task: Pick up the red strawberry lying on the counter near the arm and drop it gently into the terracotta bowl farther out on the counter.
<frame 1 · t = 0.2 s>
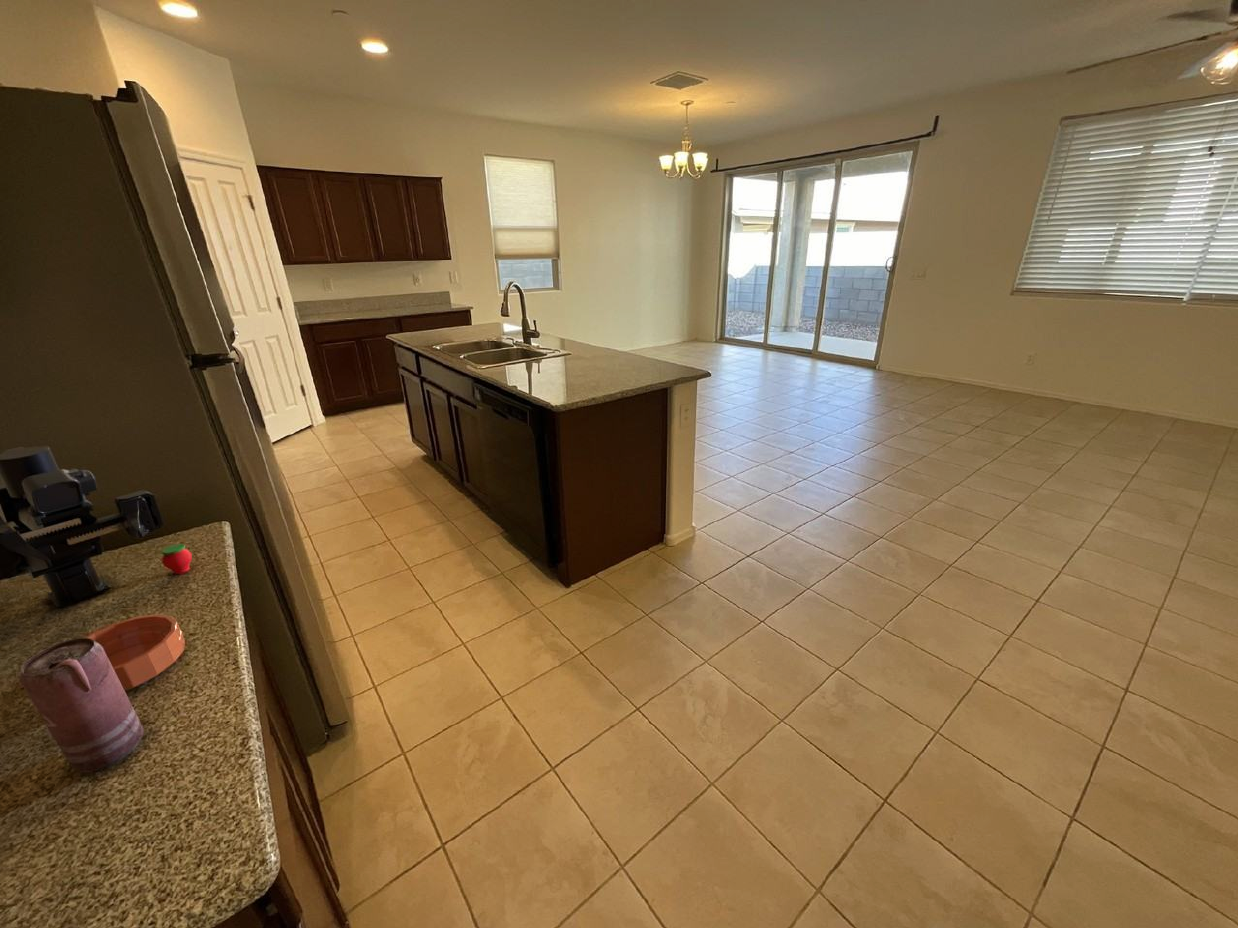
hand: (97, 548, 68), 16 cm above the countertop, tool horizontal, fingers open, 9 cm apart
bowl: (130, 667, 70), on the countertop
strawberry: (182, 570, 92), on the countertop
can: (112, 751, 58), on the countertop
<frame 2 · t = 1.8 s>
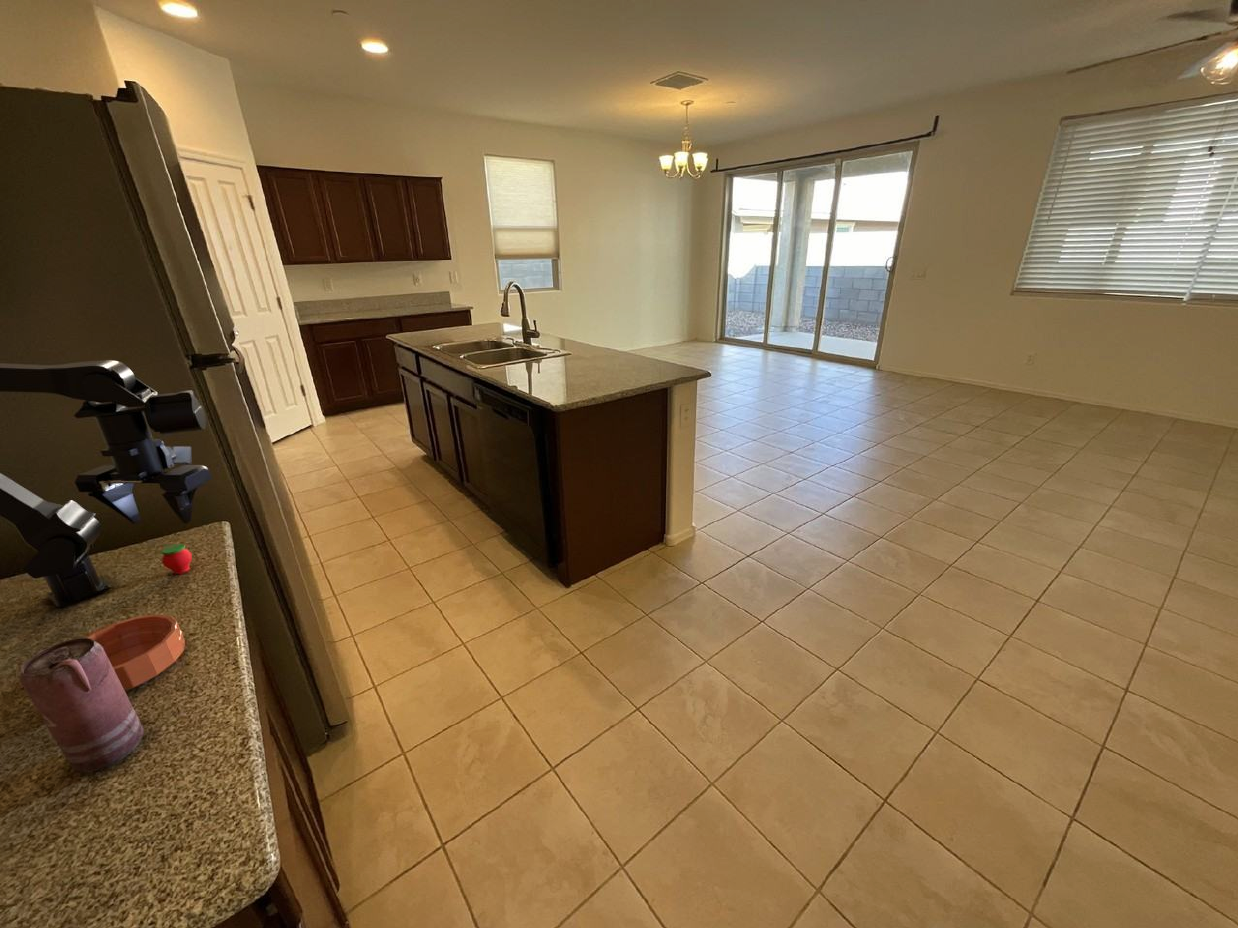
hand: (162, 522, 89), 10 cm above the countertop, tool pointing down, fingers open, 9 cm apart
nothing on the countertop moved.
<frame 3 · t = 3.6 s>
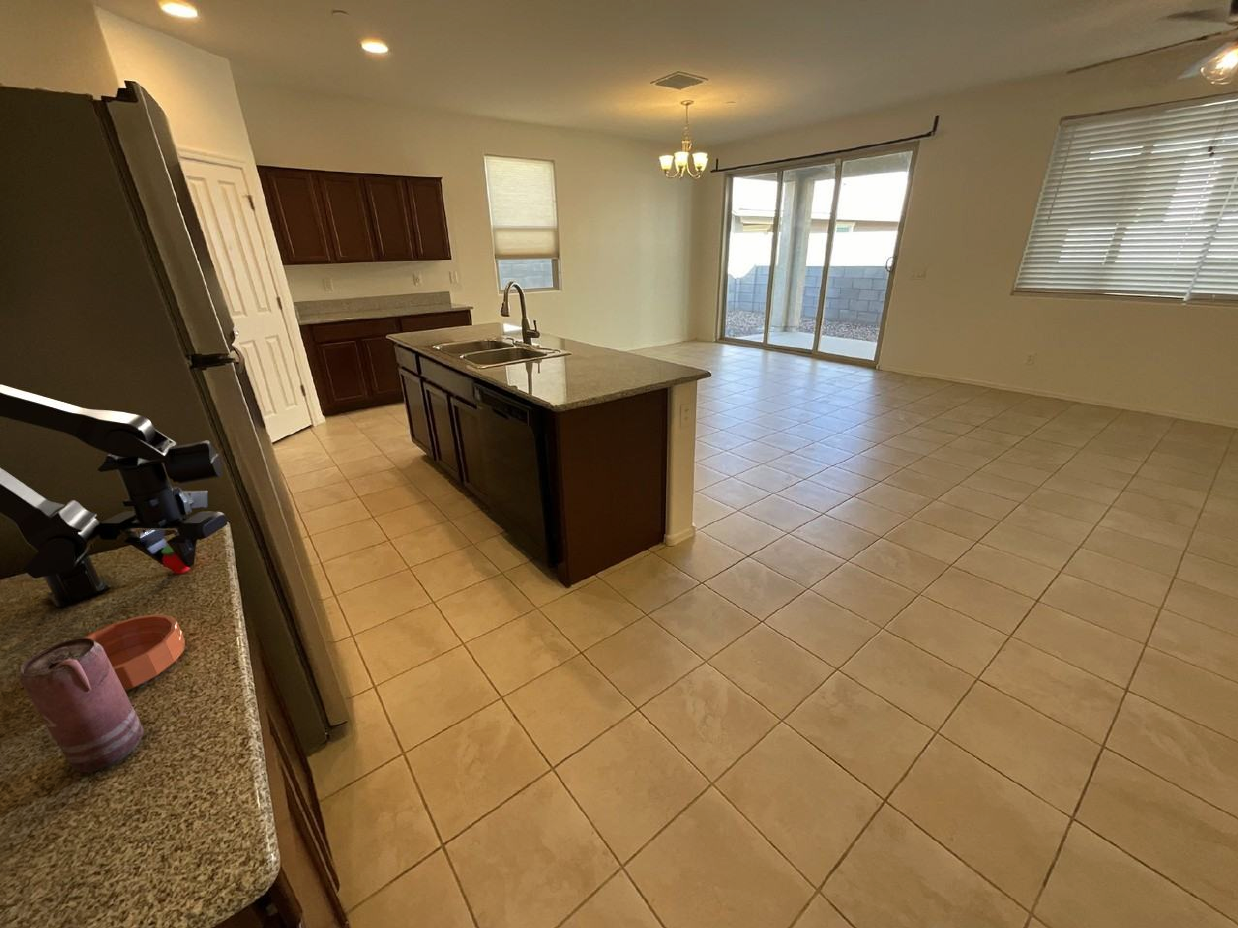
hand: (180, 566, 92), 1 cm above the countertop, tool pointing down, fingers closed on strawberry, 4 cm apart
strawberry: (182, 570, 92), on the countertop, touching gripper
everything else where it was.
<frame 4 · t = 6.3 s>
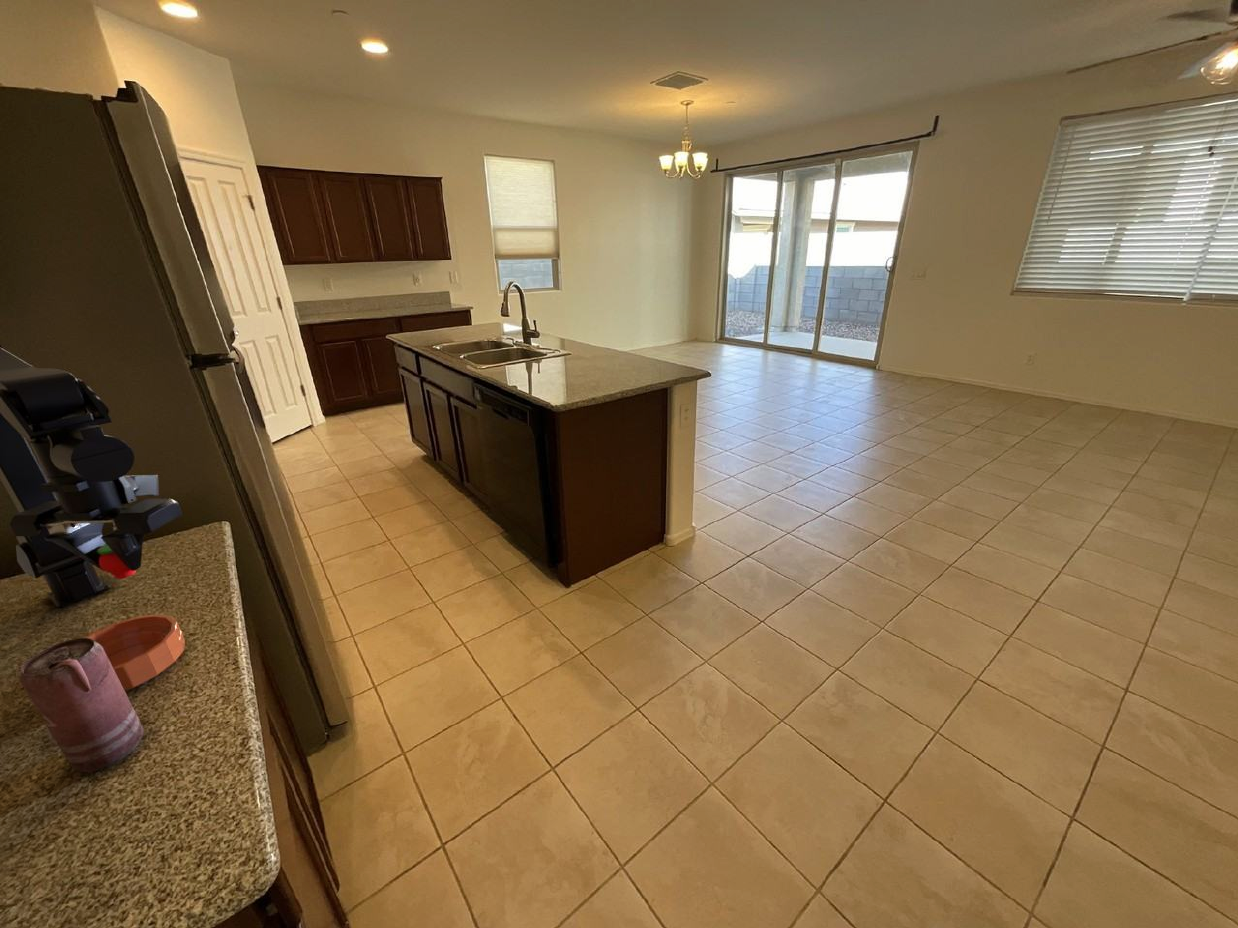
hand: (122, 569, 73), 11 cm above the countertop, tool pointing down, fingers closed on strawberry, 4 cm apart
strawberry: (125, 574, 73), point 10 cm above the countertop, touching gripper
everything else where it was.
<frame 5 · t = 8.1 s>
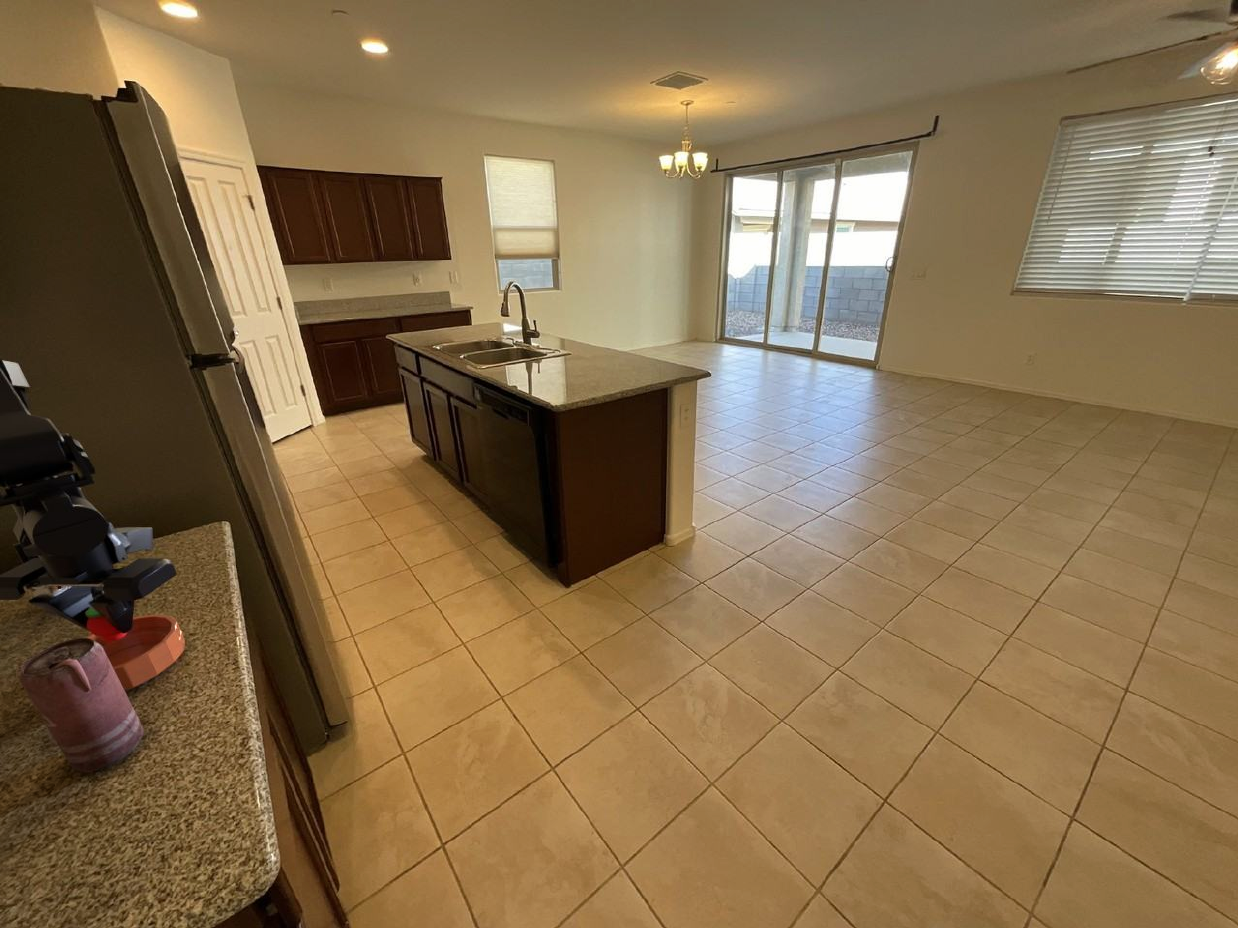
hand: (112, 631, 68), 6 cm above the countertop, tool pointing down, fingers closed on strawberry, 4 cm apart
strawberry: (116, 636, 68), point 5 cm above the countertop, touching gripper
everything else where it was.
when the fingers open (3 cm above the countertop, at t = 9.4 s): strawberry drops 1 cm, resting on bowl.
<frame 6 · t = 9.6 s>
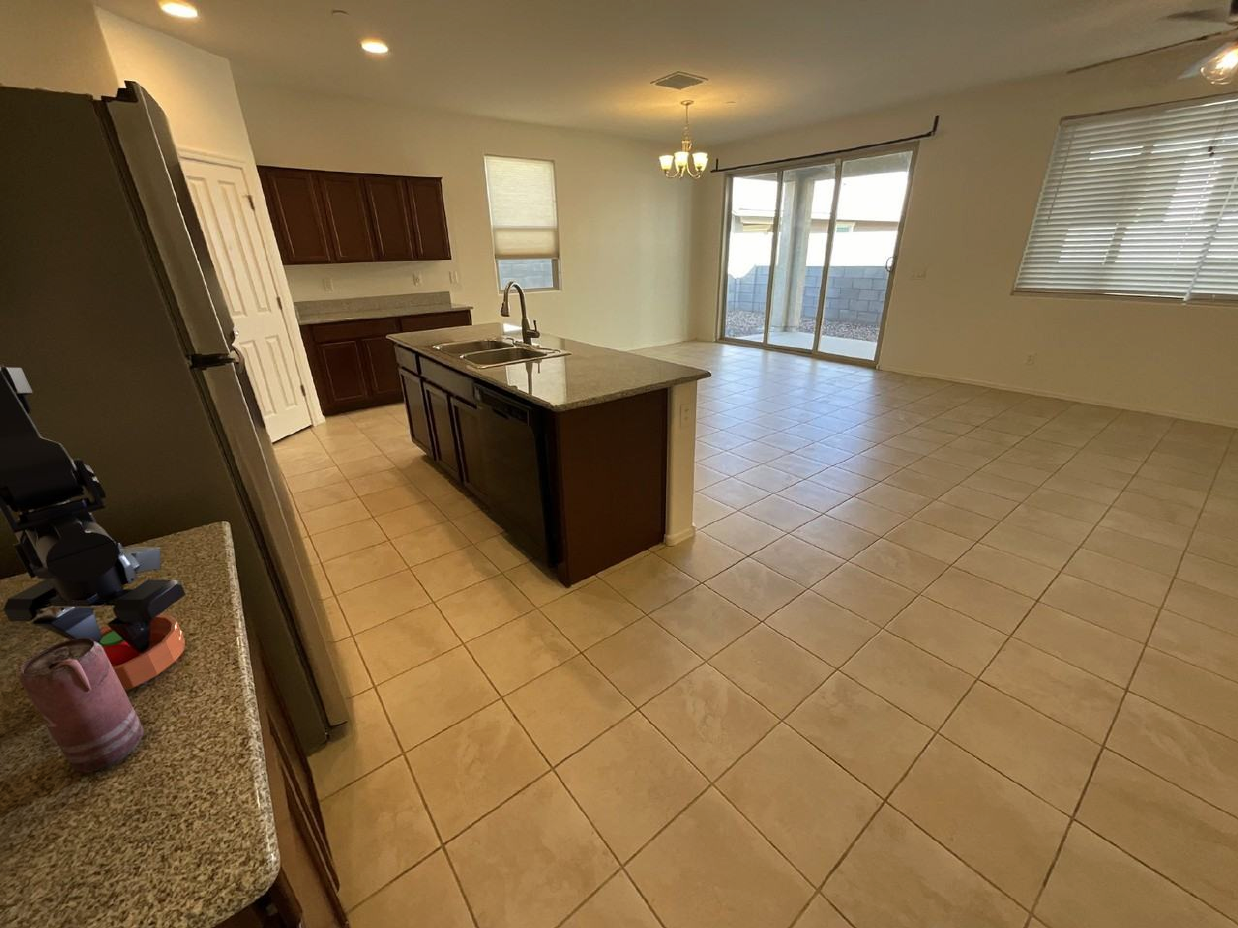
hand: (122, 650, 69), 3 cm above the countertop, tool pointing down, fingers open, 6 cm apart
strawberry: (129, 663, 70), point 1 cm above the countertop, touching bowl
everything else where it was.
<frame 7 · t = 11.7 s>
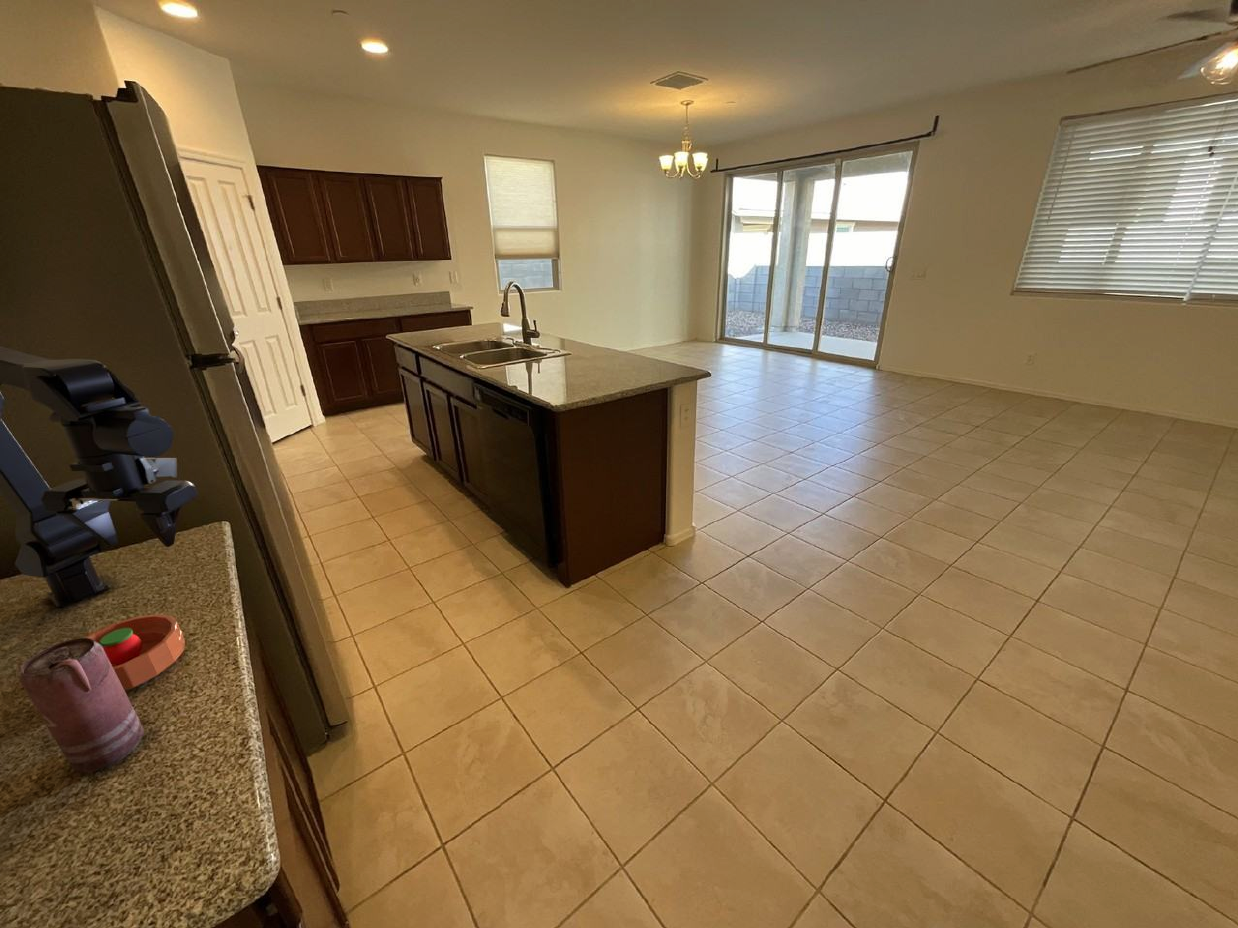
hand: (142, 544, 78), 12 cm above the countertop, tool pointing down, fingers open, 9 cm apart
nothing on the countertop moved.
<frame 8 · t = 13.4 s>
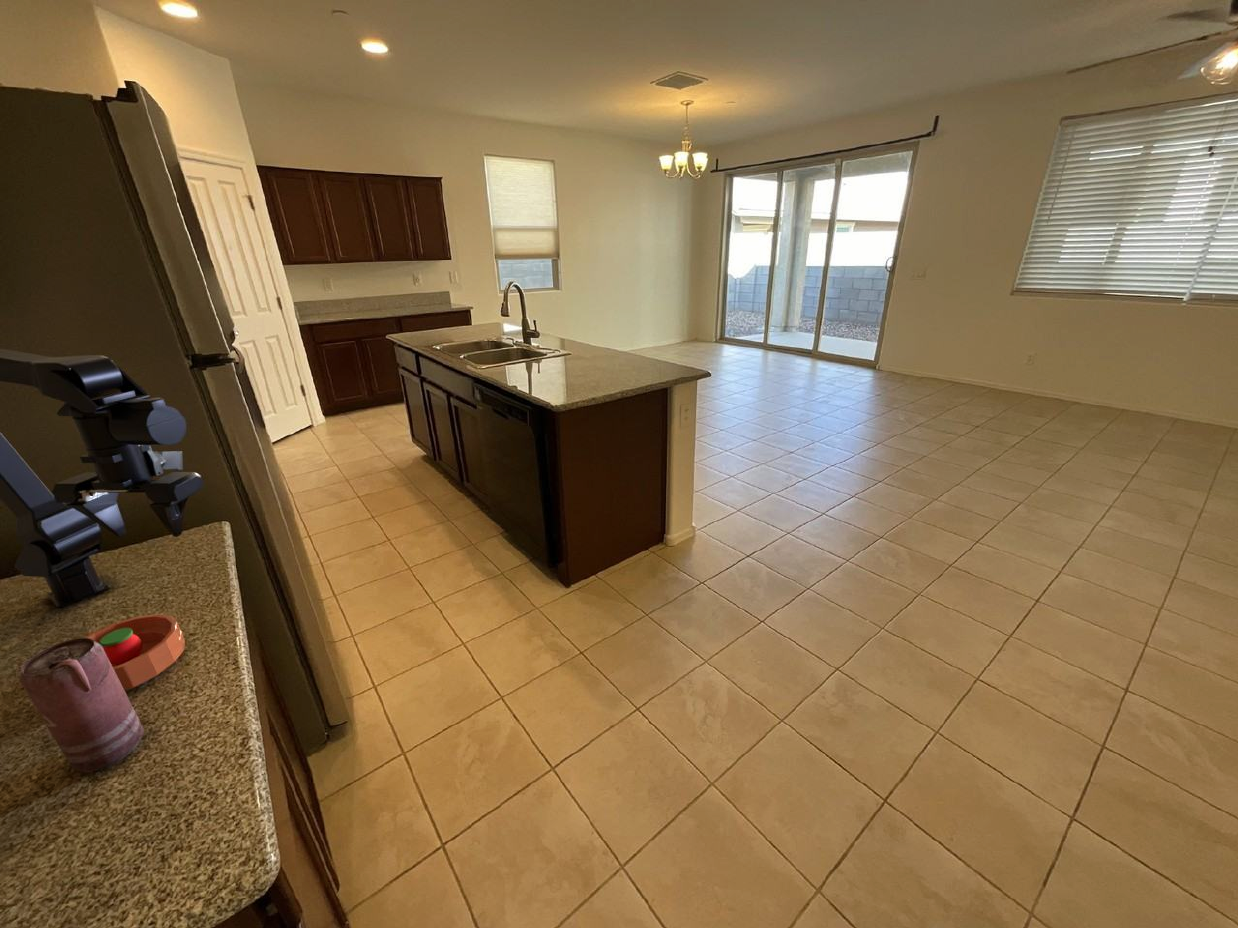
hand: (150, 535, 80), 12 cm above the countertop, tool pointing down, fingers open, 9 cm apart
nothing on the countertop moved.
at the end: strawberry inside the target area in the bowl (0.1 cm from its centre), point 0.6 cm above the bowl's base; the gripper is holding nothing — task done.
